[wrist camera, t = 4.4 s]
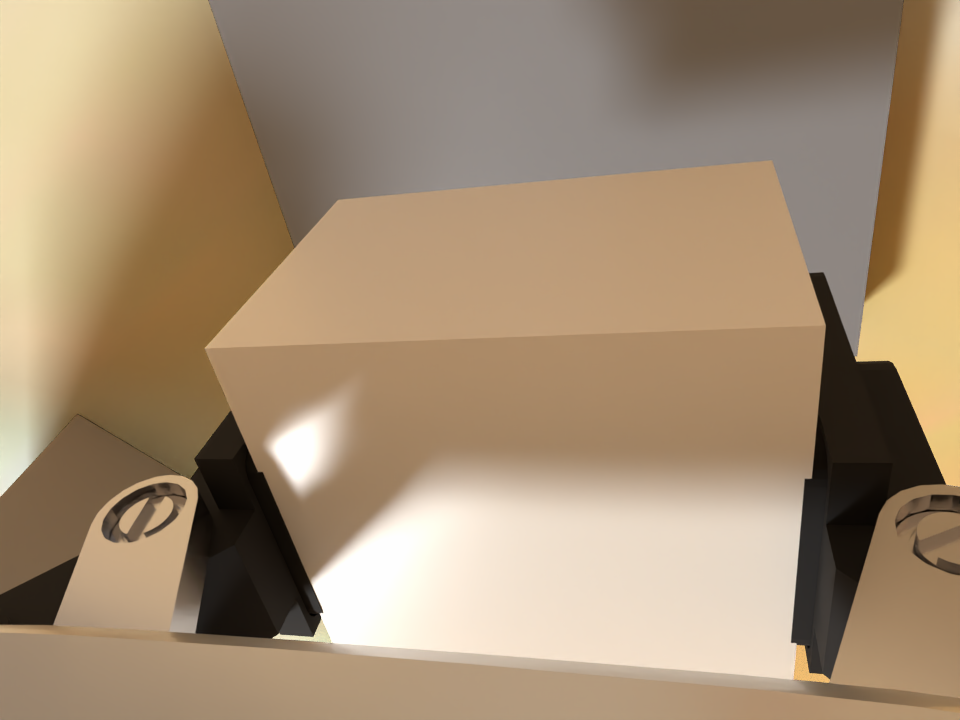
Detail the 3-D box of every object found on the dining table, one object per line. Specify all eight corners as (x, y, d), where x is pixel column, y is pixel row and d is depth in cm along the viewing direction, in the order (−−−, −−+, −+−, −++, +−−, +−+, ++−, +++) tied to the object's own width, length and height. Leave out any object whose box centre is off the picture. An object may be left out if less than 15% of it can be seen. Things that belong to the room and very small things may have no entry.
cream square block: (772, 160, 10) (824, 325, 6) (757, 503, 13) (789, 729, 10) (338, 200, 11) (204, 349, 8) (423, 496, 14) (352, 688, 11)
